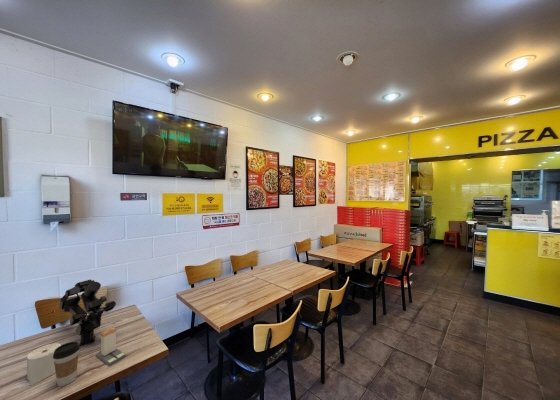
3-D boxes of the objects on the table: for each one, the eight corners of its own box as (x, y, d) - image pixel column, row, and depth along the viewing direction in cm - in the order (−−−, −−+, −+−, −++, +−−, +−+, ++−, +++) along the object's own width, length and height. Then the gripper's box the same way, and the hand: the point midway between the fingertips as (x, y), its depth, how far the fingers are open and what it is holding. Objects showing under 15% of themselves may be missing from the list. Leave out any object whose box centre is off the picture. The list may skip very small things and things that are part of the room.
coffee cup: (63, 390, 90) (62, 354, 90) (47, 386, 92) (47, 351, 92) (84, 374, 99) (84, 341, 99) (70, 371, 100) (70, 339, 100)
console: (95, 356, 110) (95, 353, 110) (111, 348, 116) (111, 345, 116) (109, 366, 103) (109, 363, 103) (125, 357, 109) (125, 354, 109)
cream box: (101, 353, 109) (100, 332, 109) (112, 347, 113) (112, 327, 113) (104, 356, 107) (103, 334, 107) (116, 349, 112) (115, 328, 112)
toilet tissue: (59, 360, 108) (59, 340, 108) (63, 372, 100) (62, 350, 100) (26, 373, 99) (26, 352, 99) (27, 388, 92) (27, 364, 92)
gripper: (71, 300, 109) (81, 328, 104) (114, 286, 125) (124, 310, 120) (65, 311, 113) (74, 339, 108) (108, 297, 129) (117, 320, 124)
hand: (99, 326), depth 115 cm, fingers closed
